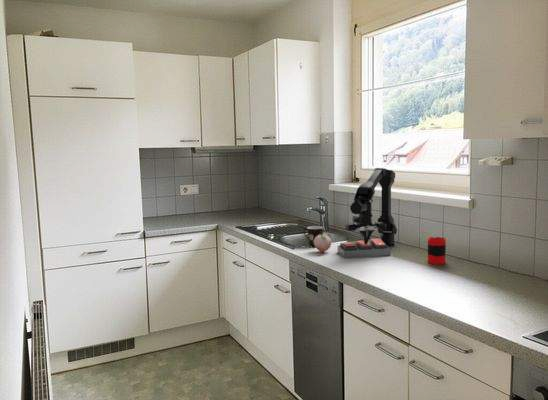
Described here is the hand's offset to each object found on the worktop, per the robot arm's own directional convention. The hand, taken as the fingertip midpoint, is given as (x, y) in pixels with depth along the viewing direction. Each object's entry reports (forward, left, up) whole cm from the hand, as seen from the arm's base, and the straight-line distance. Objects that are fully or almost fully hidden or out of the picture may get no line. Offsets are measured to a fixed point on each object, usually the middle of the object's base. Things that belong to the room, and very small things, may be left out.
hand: (365, 243), depth 226 cm
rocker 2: (-8, -4, -1) cm, 8 cm away
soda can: (-27, +19, -6) cm, 33 cm away
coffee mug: (+19, -28, -6) cm, 34 cm away
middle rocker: (0, -4, -1) cm, 4 cm away
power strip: (0, -4, -6) cm, 7 cm away
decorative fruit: (+18, -12, -6) cm, 23 cm away
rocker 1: (+7, -4, -1) cm, 8 cm away
